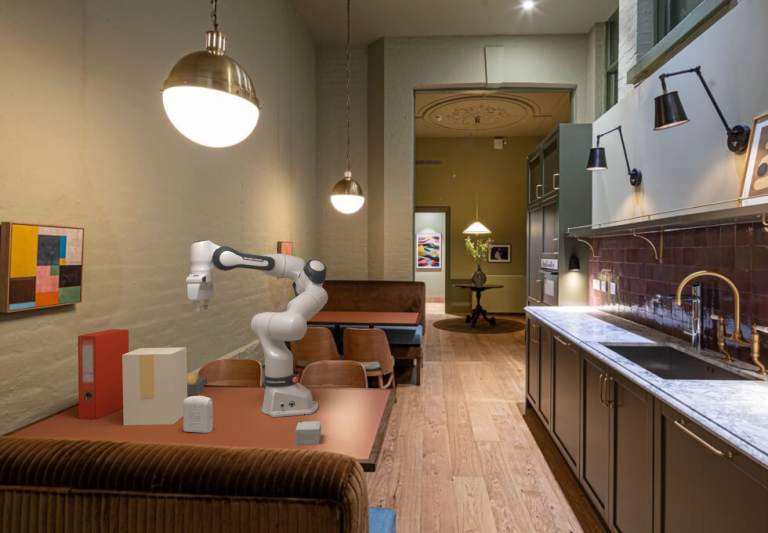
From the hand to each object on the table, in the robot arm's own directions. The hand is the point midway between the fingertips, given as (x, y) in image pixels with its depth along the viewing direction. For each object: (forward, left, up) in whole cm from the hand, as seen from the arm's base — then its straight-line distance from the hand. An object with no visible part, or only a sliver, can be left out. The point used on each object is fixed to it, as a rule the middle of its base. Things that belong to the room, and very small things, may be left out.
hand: (202, 310), depth 194 cm
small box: (-51, +44, -40) cm, 78 cm away
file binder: (+35, +11, -39) cm, 54 cm away
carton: (+10, +20, -39) cm, 45 cm away
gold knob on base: (+11, -20, -39) cm, 45 cm away
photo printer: (-11, +34, -39) cm, 53 cm away
